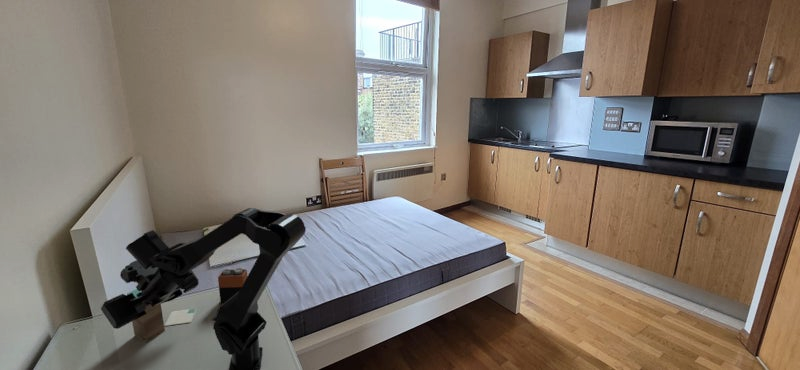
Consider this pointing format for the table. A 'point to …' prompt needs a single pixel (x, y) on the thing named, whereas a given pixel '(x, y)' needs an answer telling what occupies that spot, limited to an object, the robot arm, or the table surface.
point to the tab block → (148, 321)
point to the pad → (180, 317)
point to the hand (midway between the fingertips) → (142, 308)
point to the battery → (231, 283)
